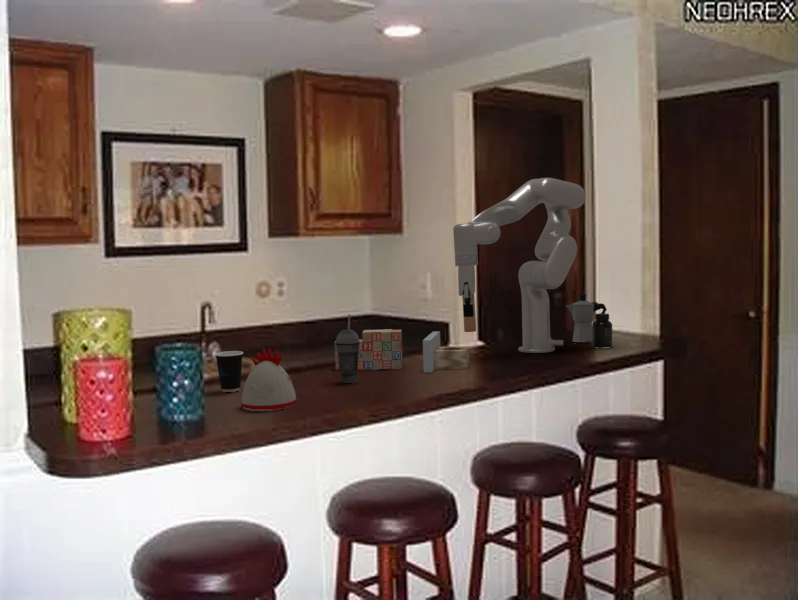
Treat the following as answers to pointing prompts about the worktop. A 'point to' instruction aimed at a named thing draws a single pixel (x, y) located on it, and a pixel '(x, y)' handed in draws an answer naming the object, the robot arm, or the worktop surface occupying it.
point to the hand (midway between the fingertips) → (469, 315)
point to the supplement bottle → (602, 331)
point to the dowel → (470, 318)
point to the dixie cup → (229, 369)
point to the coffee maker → (584, 318)
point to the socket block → (451, 358)
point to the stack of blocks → (378, 350)
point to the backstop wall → (430, 350)
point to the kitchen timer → (268, 384)
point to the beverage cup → (348, 354)
